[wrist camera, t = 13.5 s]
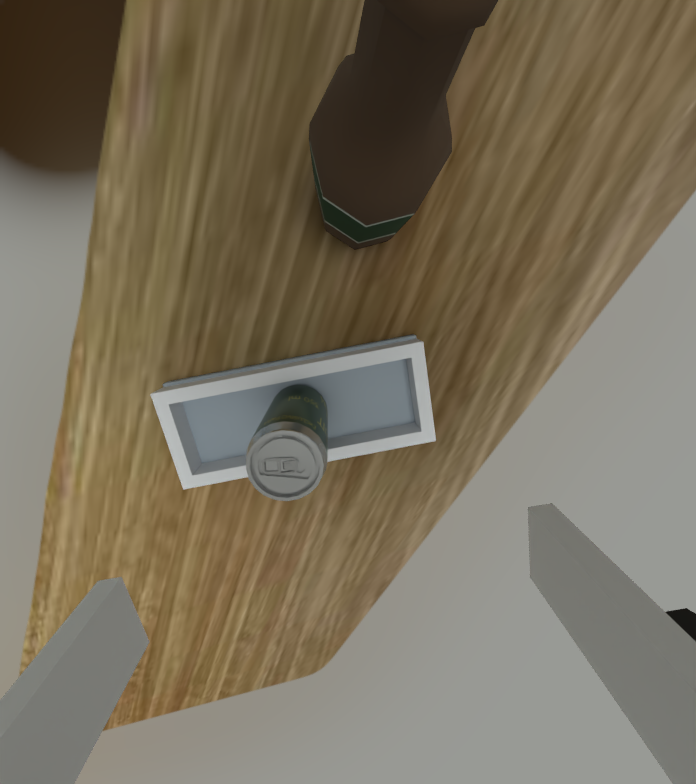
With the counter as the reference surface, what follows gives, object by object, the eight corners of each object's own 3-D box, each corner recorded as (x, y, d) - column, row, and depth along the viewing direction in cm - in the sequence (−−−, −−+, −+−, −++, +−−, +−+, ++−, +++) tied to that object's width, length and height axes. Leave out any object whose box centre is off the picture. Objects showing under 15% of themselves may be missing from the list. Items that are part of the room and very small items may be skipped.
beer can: (273, 436, 34) (245, 505, 23) (269, 383, 33) (238, 428, 21) (328, 434, 35) (328, 502, 23) (327, 381, 33) (326, 425, 22)
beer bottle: (413, 162, 30) (701, -322, 7) (396, 258, 32) (576, 141, 9) (322, 145, 29) (291, -460, 6) (310, 244, 31) (253, 75, 8)
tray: (167, 381, 34) (149, 390, 30) (413, 334, 34) (422, 338, 30) (198, 474, 36) (184, 492, 33) (426, 430, 36) (436, 443, 33)
